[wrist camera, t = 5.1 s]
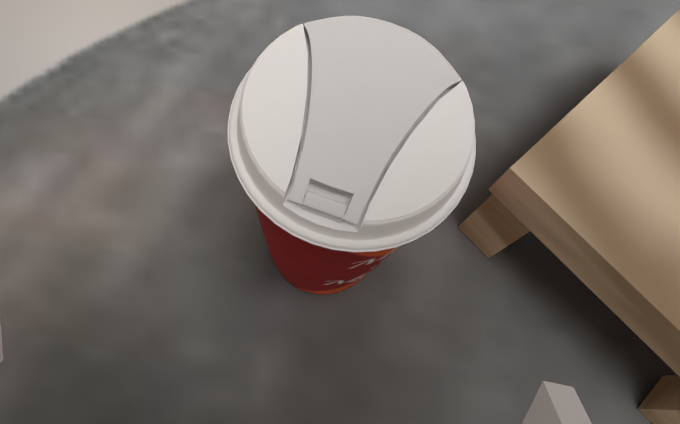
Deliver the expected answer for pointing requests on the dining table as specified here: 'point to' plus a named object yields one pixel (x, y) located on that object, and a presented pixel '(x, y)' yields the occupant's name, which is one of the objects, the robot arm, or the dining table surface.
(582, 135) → the wooden step stool
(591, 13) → the dining table surface
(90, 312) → the dining table surface
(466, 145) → the paper cup
